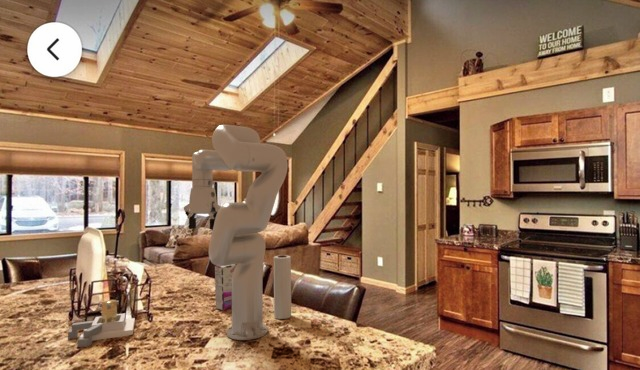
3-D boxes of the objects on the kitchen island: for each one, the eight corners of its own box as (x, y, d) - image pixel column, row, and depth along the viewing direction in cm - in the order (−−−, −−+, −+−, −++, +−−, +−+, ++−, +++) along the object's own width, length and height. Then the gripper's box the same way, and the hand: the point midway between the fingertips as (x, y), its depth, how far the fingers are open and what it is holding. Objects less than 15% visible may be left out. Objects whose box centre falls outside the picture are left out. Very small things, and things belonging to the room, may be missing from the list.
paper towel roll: (288, 320, 126) (287, 257, 126) (271, 319, 127) (271, 257, 128) (294, 313, 133) (293, 254, 133) (278, 312, 134) (277, 253, 135)
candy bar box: (237, 301, 148) (237, 260, 149) (245, 303, 145) (245, 262, 146) (214, 308, 139) (214, 265, 140) (222, 311, 136) (222, 267, 137)
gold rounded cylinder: (118, 327, 116) (118, 302, 116) (99, 331, 114) (99, 305, 114) (119, 322, 121) (118, 298, 121) (100, 325, 118) (100, 300, 118)
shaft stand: (131, 340, 110) (131, 326, 110) (60, 351, 103) (60, 336, 103) (134, 322, 125) (134, 310, 125) (73, 330, 118) (73, 318, 118)
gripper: (227, 184, 141) (227, 228, 141) (191, 184, 148) (191, 227, 147) (214, 183, 134) (215, 230, 134) (177, 184, 141) (177, 229, 140)
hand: (202, 228), depth 141 cm, fingers open, 9 cm apart
